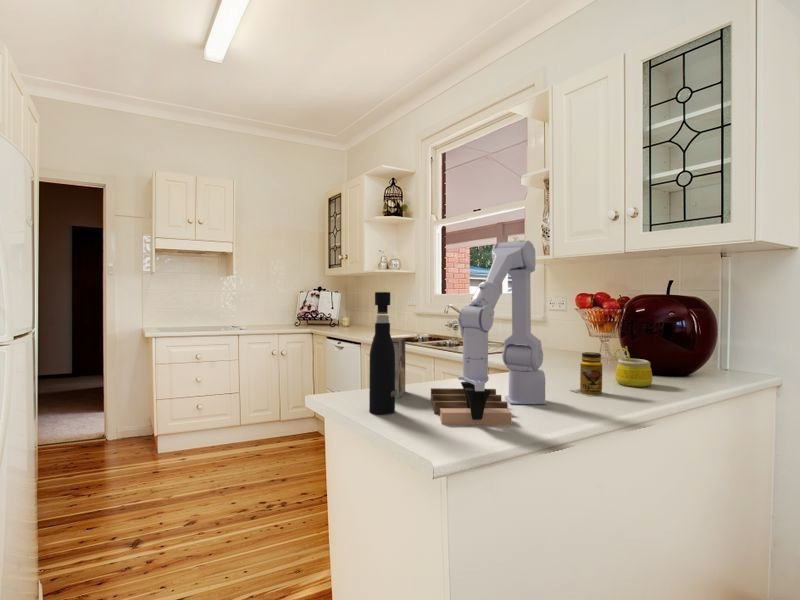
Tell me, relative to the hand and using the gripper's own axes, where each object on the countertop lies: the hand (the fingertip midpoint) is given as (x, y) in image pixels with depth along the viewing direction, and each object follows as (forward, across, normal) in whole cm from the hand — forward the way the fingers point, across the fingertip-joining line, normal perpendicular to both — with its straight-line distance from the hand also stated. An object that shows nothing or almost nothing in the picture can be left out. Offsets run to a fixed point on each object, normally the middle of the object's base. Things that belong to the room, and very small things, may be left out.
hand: (474, 415), depth 112 cm
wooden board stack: (+1, -14, 0) cm, 15 cm away
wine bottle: (+2, -8, -22) cm, 24 cm away
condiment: (+2, -32, +39) cm, 51 cm away
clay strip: (+2, 0, 0) cm, 2 cm away
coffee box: (+2, -28, -20) cm, 35 cm away
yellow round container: (+2, -46, +58) cm, 74 cm away
